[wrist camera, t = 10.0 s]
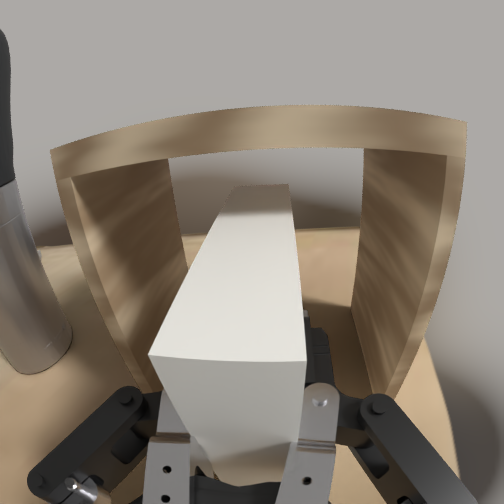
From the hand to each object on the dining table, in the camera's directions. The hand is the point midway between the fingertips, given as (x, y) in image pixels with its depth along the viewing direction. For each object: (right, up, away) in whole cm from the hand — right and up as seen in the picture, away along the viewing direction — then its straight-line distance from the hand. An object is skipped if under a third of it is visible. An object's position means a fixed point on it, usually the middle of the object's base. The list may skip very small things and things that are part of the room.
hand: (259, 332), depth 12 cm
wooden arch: (+1, -5, +10) cm, 11 cm away
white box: (+1, -6, +3) cm, 7 cm away
